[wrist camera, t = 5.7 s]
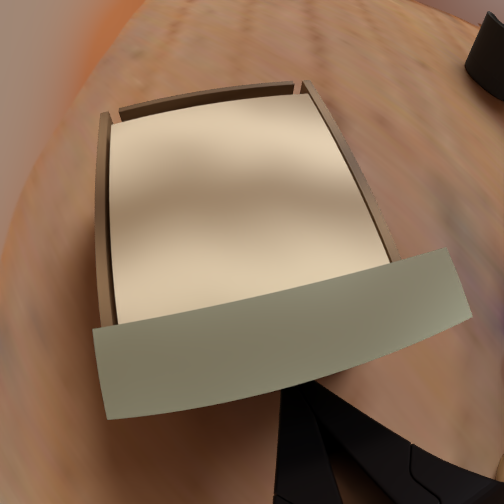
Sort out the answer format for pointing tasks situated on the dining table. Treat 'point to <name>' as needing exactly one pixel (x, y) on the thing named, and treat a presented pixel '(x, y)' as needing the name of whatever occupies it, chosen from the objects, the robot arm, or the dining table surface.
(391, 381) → the dining table surface
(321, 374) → the lid
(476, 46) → the pen holder
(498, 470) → the cream domed disc
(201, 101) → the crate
